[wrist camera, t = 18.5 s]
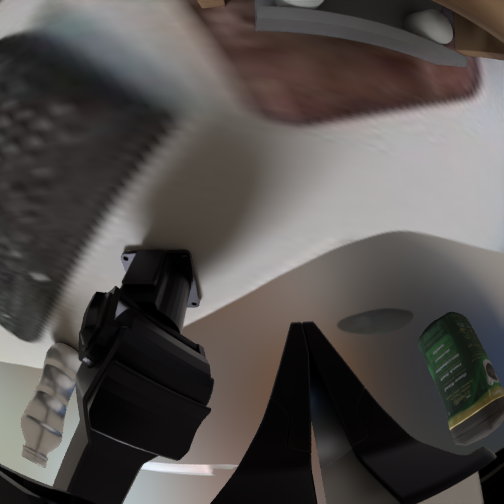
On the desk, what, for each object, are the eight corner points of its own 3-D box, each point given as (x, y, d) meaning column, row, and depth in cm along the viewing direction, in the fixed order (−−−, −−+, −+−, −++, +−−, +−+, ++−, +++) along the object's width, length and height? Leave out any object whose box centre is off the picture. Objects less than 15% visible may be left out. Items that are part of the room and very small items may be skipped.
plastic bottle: (60, 356, 35) (27, 458, 18) (47, 332, 31) (3, 444, 14) (92, 366, 35) (63, 476, 19) (80, 342, 32) (41, 466, 15)
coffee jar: (407, 341, 32) (447, 458, 17) (446, 303, 28) (504, 423, 13) (437, 349, 35) (474, 444, 20) (471, 317, 31) (518, 413, 16)
